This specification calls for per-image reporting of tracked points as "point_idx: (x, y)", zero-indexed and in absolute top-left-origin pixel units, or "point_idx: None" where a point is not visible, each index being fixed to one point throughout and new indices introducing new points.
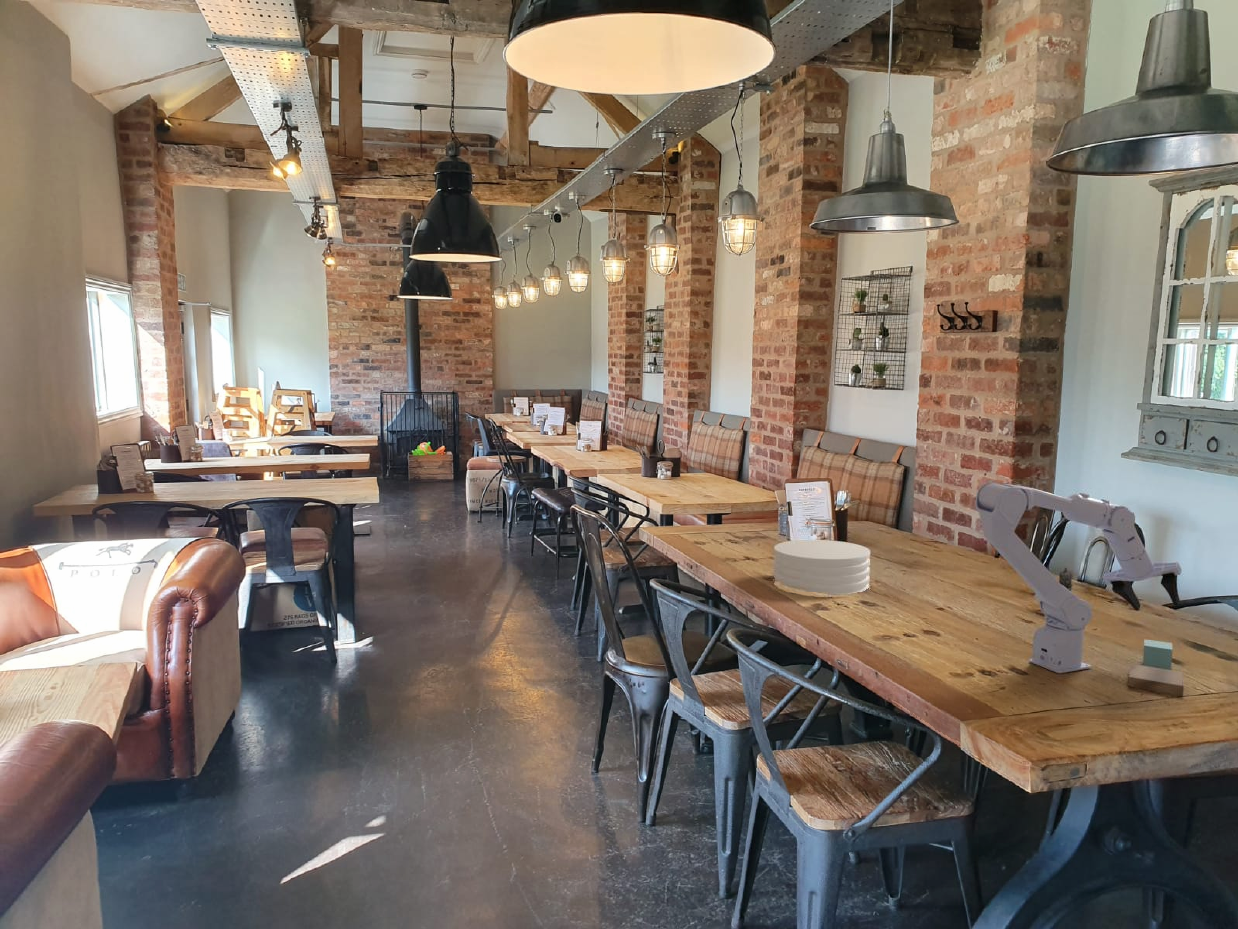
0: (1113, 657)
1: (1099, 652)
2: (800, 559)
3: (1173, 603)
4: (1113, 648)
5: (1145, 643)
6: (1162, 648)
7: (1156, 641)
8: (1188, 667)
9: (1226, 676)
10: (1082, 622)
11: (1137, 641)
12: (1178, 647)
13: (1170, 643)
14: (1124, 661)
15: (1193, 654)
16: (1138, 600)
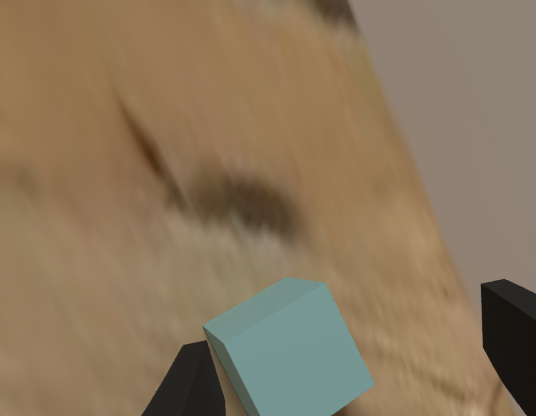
0: (102, 401)
1: (19, 394)
2: None
3: (500, 374)
4: (24, 268)
5: (265, 412)
6: (343, 406)
7: (274, 324)
8: (330, 239)
9: (433, 222)
10: None
11: (30, 54)
12: (184, 2)
13: (324, 294)
14: None
15: (262, 54)
16: (200, 362)
